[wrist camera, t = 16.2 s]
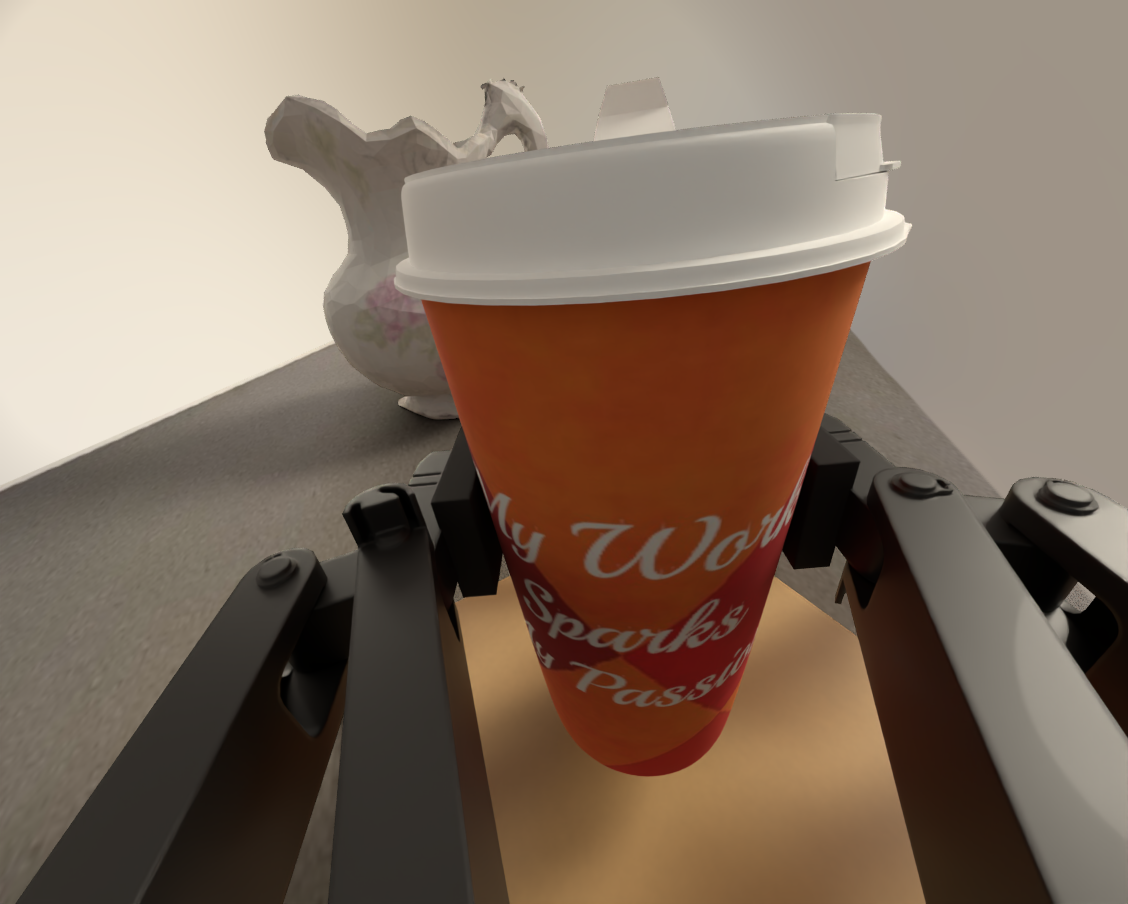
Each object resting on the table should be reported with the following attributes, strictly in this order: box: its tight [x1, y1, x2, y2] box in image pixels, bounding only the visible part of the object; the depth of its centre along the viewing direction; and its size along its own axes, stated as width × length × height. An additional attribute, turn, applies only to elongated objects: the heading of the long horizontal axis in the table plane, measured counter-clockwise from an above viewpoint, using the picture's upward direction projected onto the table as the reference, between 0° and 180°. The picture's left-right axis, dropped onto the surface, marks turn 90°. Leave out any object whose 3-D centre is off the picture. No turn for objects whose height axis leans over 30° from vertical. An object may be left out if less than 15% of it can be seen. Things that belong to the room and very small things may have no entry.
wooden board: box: [455, 576, 926, 904], centre depth 15 cm, size 18×18×1 cm
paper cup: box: [394, 113, 912, 777], centre depth 10 cm, size 8×8×14 cm
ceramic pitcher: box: [264, 79, 548, 419], centre depth 39 cm, size 22×20×25 cm
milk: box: [593, 77, 676, 141], centre depth 56 cm, size 12×12×26 cm
